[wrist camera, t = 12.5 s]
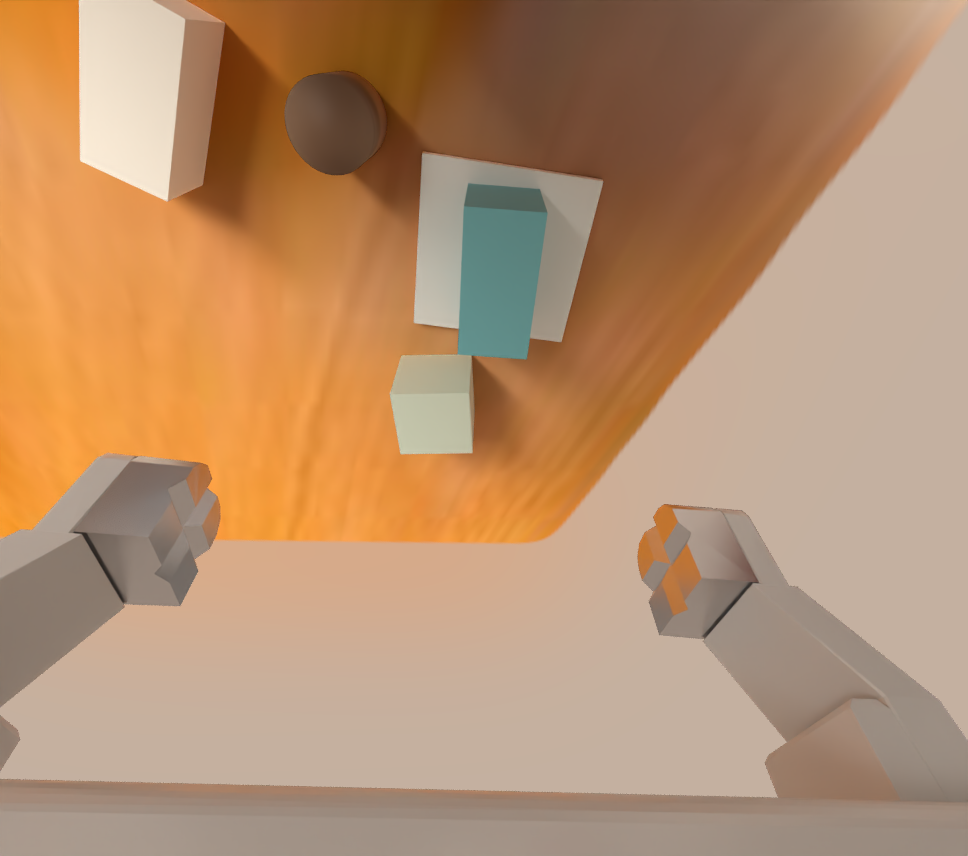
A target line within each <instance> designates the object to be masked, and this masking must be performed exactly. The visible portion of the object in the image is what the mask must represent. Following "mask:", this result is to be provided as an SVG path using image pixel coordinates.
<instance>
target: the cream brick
mask: <svg viewBox="0 0 968 856" xmlns="http://www.w3.org/2000/svg"><path fill="white" fill-rule="evenodd" d="M224 29H225V22H223V21H221V20H219V19H218V18H216V17H214V16H212V15H211V14H209V13H207V12H205V11H204V10H202V9H200V8H199V7H197V6H195V5H193V4H192V3H190V2H188V1H186V0H79V71H80V161H81V162H84V163H86V164H88V165H90V166H92V167H94V168H96V169H99V170H101V171H103V172H105V173H107V174H109V175H112V176H114V177H116V178H118V179H120V180H122V181H124V182H127V183H129V184H131V185H133V186H135V187H137V188H139V189H142V190H144V191H146V192H148V193H150V194H152V195H155V196H157V197H159V198H161V199H163V200H165V201H167V202H168V201H170V200H172V199H174V198H176V197H178V196H180V195H183V194H185V193H187V192H189V191H191V190H193V189H195V188H198V187H200V186H202V185H203V181H204V174H205V167H206V159H207V152H208V145H209V138H210V130H211V123H212V116H213V109H214V101H215V94H216V87H217V80H218V72H219V65H220V58H221V51H222V43H223V36H224Z"/></svg>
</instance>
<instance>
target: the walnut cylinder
mask: <svg viewBox="0 0 968 856" xmlns="http://www.w3.org/2000/svg"><path fill="white" fill-rule="evenodd" d="M285 124H286V129H287V133H288V136H289V138H290V141H291V143H292V145H293V147H294V148H295V150H296V151H297V153H298V154H299V155H300V157H301V158H302V159H303V160H304V161H305V162H306V163H308V164H309V165H310V166H311V167H313V168H314V169H316V170H318V171H320V172H323V173H325V174H330V175H344V174H348V173H351V172H353V171H354V170H356V169H357V168H359V167H360V166H361V165H362V164H363V163H364V162H366V161H367V160H368V159H369V158H370V157H371V156H372V155H374V154H375V153H376V152H377V151H378V150H379V148H380V147H381V145H382V143H383V141H384V139H385V136H386V131H387V116H386V111H385V107H384V104H383V102H382V99H381V97H380V96H379V94H378V92H377V91H376V89H375V88H374V87H373V86H372V85H371V84H370V83H369V82H368V81H367V80H366V79H364V78H363V77H361V76H359V75H357V74H355V73H352V72H348V71H336V72H329V73H322V74H315V75H310V76H307V77H305V78H303V79H302V80H300V81H299V82H298V83H297V84H296V85H295V86H294V87H293V88H292V90H291V91H290V93H289V95H288V98H287V101H286V106H285Z"/></svg>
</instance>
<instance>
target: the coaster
mask: <svg viewBox="0 0 968 856" xmlns="http://www.w3.org/2000/svg"><path fill="white" fill-rule="evenodd" d="M468 183H471V184H484V185H496V186H509V187H521V188H534V189H540V191H541V194H542V197H543V200H544V203H545V206H546V209H547V212H548V214H547V221H546V228H545V235H544V242H543V249H542V256H541V263H540V270H539V277H538V284H537V291H536V298H535V305H534V312H533V319H532V326H531V333H530V338H532V339H540V340H548V341H555V342H561V341H562V338H563V334H564V330H565V326H566V322H567V319H568V315H569V311H570V307H571V303H572V300H573V296H574V292H575V288H576V284H577V281H578V277H579V273H580V269H581V265H582V261H583V258H584V254H585V250H586V246H587V242H588V239H589V235H590V231H591V227H592V223H593V220H594V216H595V212H596V208H597V204H598V200H599V197H600V193H601V189H602V185H603V180H602V179H598V178H591V177H585V176H579V175H572V174H566V173H559V172H553V171H547V170H540V169H534V168H527V167H521V166H515V165H508V164H502V163H495V162H489V161H483V160H476V159H470V158H463V157H457V156H451V155H444V154H438V153H431V152H425V151H423V153H422V168H421V188H420V208H419V228H418V248H417V268H416V288H415V308H414V323H418V324H426V325H433V326H441V327H448V328H456V329H459V310H460V286H461V261H462V237H463V212H464V202H465V197H466V192H467V187H468Z"/></svg>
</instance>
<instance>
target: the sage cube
mask: <svg viewBox="0 0 968 856" xmlns="http://www.w3.org/2000/svg"><path fill="white" fill-rule="evenodd" d="M390 398H391V404H392V409H393V415H394V420H395V426H396V431H397V437H398V442H399V448H400V453H401V454H444V453H473V435H474V415H475V408H474V388H473V369H472V356H470V355H458V354H448V355H401V359H400V362H399V365H398V369H397V372H396V375H395V379H394V382H393V385H392V389H391V392H390Z"/></svg>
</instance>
